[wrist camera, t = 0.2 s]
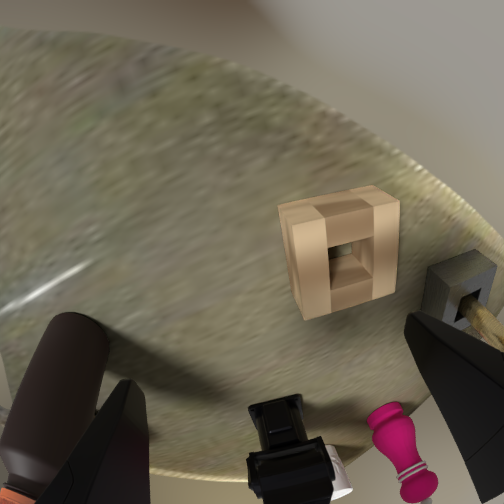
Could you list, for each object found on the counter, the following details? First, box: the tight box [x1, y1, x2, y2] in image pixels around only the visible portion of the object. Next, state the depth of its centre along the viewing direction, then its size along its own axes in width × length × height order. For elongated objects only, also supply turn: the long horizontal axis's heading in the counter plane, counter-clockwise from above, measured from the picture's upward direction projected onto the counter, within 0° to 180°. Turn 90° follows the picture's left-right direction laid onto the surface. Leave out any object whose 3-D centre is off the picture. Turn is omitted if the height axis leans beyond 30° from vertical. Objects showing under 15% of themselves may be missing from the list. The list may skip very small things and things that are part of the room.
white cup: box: [325, 445, 353, 500], centre depth 40 cm, size 8×8×10 cm
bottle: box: [0, 313, 110, 504], centre depth 16 cm, size 7×7×20 cm
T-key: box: [458, 293, 504, 352], centre depth 23 cm, size 8×2×15 cm, turn 41°
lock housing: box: [421, 249, 497, 330], centre depth 28 cm, size 8×8×4 cm
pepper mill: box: [367, 402, 438, 504], centre depth 32 cm, size 7×7×20 cm
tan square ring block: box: [278, 185, 400, 321], centre depth 22 cm, size 8×8×4 cm
